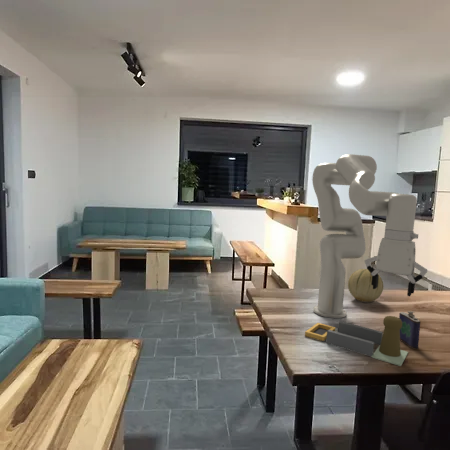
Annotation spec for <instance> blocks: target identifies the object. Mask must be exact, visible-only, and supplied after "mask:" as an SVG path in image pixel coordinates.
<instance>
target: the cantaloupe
mask: <svg viewBox="0 0 450 450" xmlns="http://www.w3.org/2000/svg"><path fill="white" fill-rule="evenodd" d="M383 282H384V281H383V279H382V277H381V275H379V279H378V287H377V288H376V289H373V285H371V283H372V275H371V273H370V272H369V270H368V269H367V268H360V269H357V270H355V271H354V272H352V273H351V274H350V276H349V278H348V281H347V288H348V291H349V293H350V295H351V297H353V298H354V299H355V300H357V301H359V302H364V303H370V302H375V301H376V300H377V299H379V298H380V296H381V295H382V293H383V291H384V283H383Z"/></svg>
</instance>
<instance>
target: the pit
mask: <svg viewBox="0 0 450 450" xmlns="http://www.w3.org/2000/svg"><path fill="white" fill-rule="evenodd" d="M336 329H337V328H336V326H332V325H328V324H324V323H320V322H316V323H315V324H313V326H311V327H310V328H309V329H307V330H305V331H304V337H307V338H309V339H314V340H316V341H319V342H325V341H326V339H327V331H328V330H332V331H336ZM336 332H337V331H336Z"/></svg>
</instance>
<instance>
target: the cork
mask: <svg viewBox="0 0 450 450" xmlns="http://www.w3.org/2000/svg"><path fill="white" fill-rule="evenodd" d="M382 323H383V326H384V328H383V331H382V332H383V335H382V340H381V344H380V345H379V346H380V348H379V351H380V352H381V353H382V354H384V355H387V356H391V357H398V356H400V355H401V352H400V350H401V340H400V329H401V327H402V321H401V319H400V318H399V317H398V316H393V315H387V316H385V317H384V318H383V322H382Z"/></svg>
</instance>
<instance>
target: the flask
mask: <svg viewBox="0 0 450 450" xmlns="http://www.w3.org/2000/svg"><path fill="white" fill-rule="evenodd" d="M414 313H415V311H412V310H411V311H408V310H407V312H404V311H401V312H399V317H398V318H400V319H401V321H402V327H401V329H400V341H401V340H402V341H403V344H406V346H408V347H410V349H414V350H418V349H419V341H420V332H421V331H420V330H421V321H420V320H419V319H418V318H417V317H416V316H415V314H414ZM402 341H401V342H402Z"/></svg>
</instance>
